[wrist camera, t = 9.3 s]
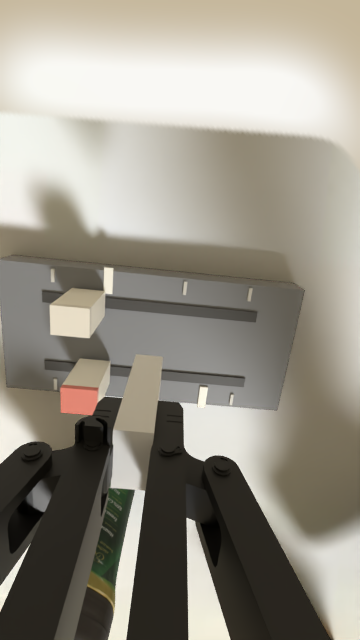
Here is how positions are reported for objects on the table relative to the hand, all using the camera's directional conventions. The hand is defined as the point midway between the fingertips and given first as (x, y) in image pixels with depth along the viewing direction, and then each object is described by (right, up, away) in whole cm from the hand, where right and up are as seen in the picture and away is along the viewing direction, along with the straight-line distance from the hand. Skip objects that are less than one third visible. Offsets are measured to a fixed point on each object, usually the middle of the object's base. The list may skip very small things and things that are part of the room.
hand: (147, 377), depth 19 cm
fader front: (-7, +5, +12) cm, 14 cm away
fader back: (-7, -2, +14) cm, 16 cm away
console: (-1, +2, +16) cm, 16 cm away
